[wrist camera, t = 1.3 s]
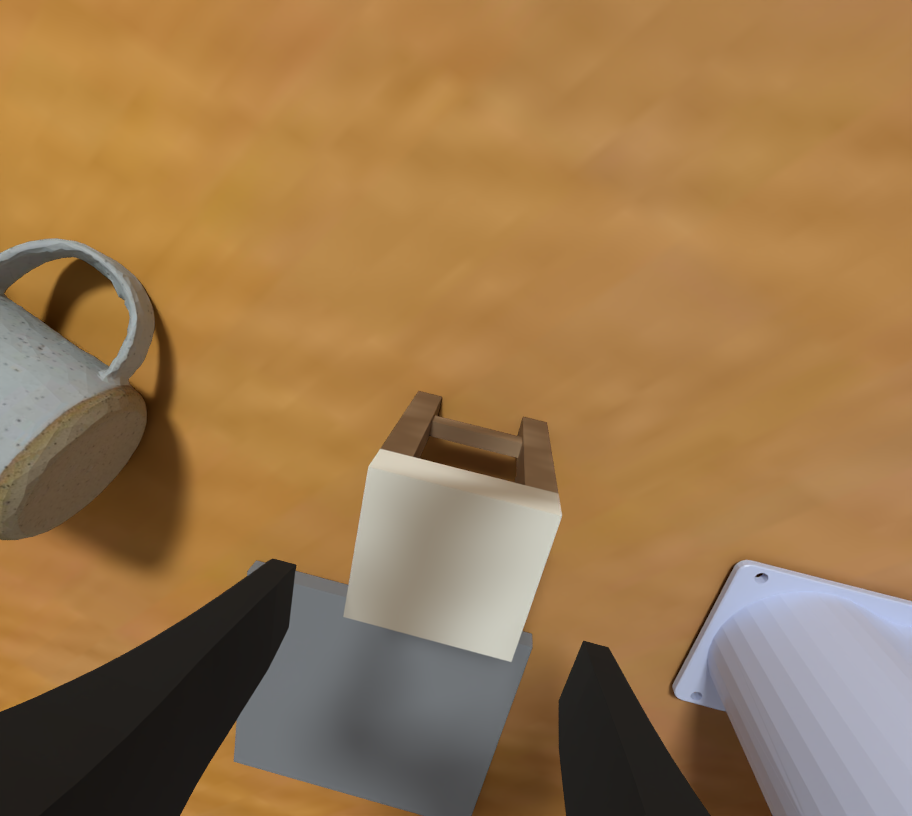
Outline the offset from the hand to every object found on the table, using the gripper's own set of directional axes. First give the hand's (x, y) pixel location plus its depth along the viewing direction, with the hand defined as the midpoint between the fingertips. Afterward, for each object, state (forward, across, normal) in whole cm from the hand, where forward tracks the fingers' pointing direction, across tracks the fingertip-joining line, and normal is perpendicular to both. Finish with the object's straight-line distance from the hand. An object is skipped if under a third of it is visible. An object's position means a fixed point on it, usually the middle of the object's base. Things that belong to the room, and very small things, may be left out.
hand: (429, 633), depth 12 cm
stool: (+9, 0, 0) cm, 9 cm away
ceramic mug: (+10, +18, 0) cm, 20 cm away
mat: (+9, +2, +15) cm, 18 cm away
